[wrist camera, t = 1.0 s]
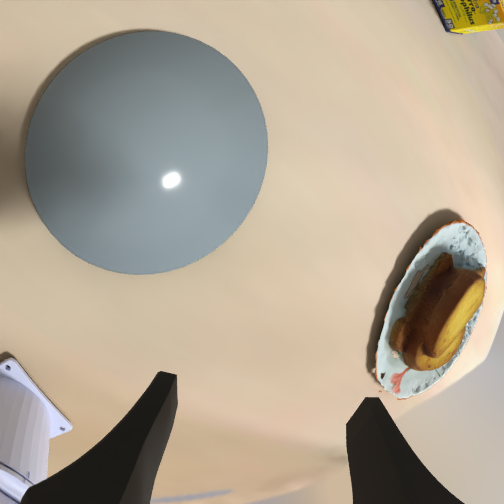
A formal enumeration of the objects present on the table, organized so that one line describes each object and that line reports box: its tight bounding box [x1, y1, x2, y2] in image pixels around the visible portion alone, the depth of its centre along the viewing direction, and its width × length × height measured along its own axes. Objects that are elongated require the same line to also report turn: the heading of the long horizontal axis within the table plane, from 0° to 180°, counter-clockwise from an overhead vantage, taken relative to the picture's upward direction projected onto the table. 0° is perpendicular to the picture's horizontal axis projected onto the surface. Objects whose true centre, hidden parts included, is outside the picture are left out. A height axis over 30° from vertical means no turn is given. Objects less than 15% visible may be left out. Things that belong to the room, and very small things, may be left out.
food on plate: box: [375, 219, 487, 400], centre depth 33 cm, size 25×25×7 cm
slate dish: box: [25, 31, 268, 275], centre depth 17 cm, size 16×16×1 cm
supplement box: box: [433, 0, 504, 34], centre depth 22 cm, size 6×6×11 cm
